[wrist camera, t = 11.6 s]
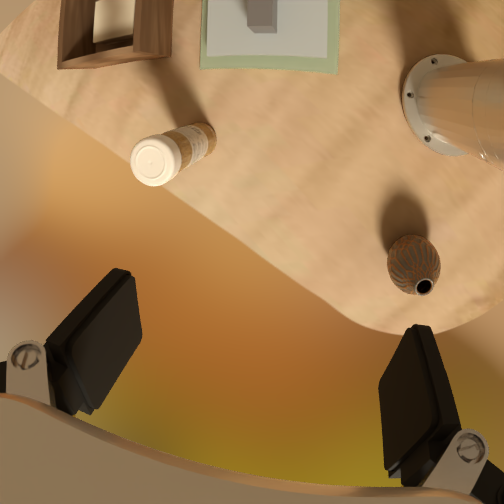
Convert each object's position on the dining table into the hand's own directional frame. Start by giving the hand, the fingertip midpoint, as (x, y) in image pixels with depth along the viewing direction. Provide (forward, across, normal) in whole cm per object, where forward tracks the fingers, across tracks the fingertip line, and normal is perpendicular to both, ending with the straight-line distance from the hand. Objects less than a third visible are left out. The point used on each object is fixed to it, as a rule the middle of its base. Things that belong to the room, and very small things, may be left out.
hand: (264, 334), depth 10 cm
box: (+31, +24, -17) cm, 42 cm away
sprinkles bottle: (+31, +13, 0) cm, 33 cm away
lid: (+30, +6, -18) cm, 36 cm away
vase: (+31, -16, +10) cm, 36 cm away
